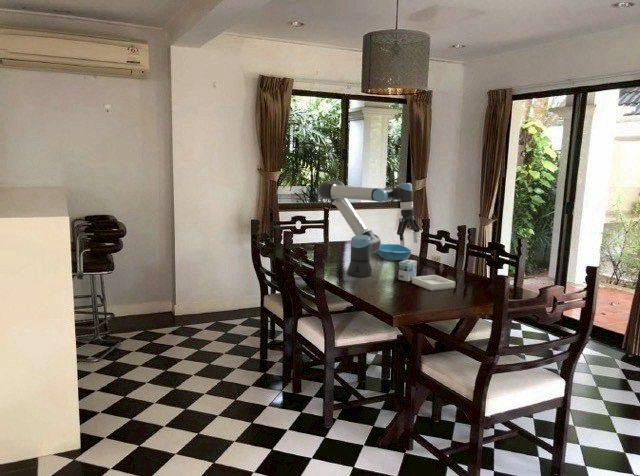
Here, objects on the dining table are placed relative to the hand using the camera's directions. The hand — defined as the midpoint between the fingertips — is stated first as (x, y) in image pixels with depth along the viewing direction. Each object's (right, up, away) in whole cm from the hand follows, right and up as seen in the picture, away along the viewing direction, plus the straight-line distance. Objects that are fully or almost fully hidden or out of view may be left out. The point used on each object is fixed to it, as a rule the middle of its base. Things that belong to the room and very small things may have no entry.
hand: (409, 244), depth 303 cm
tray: (+10, -23, -18) cm, 31 cm away
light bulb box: (-2, -21, -5) cm, 21 cm away
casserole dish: (-2, -10, +61) cm, 62 cm away
